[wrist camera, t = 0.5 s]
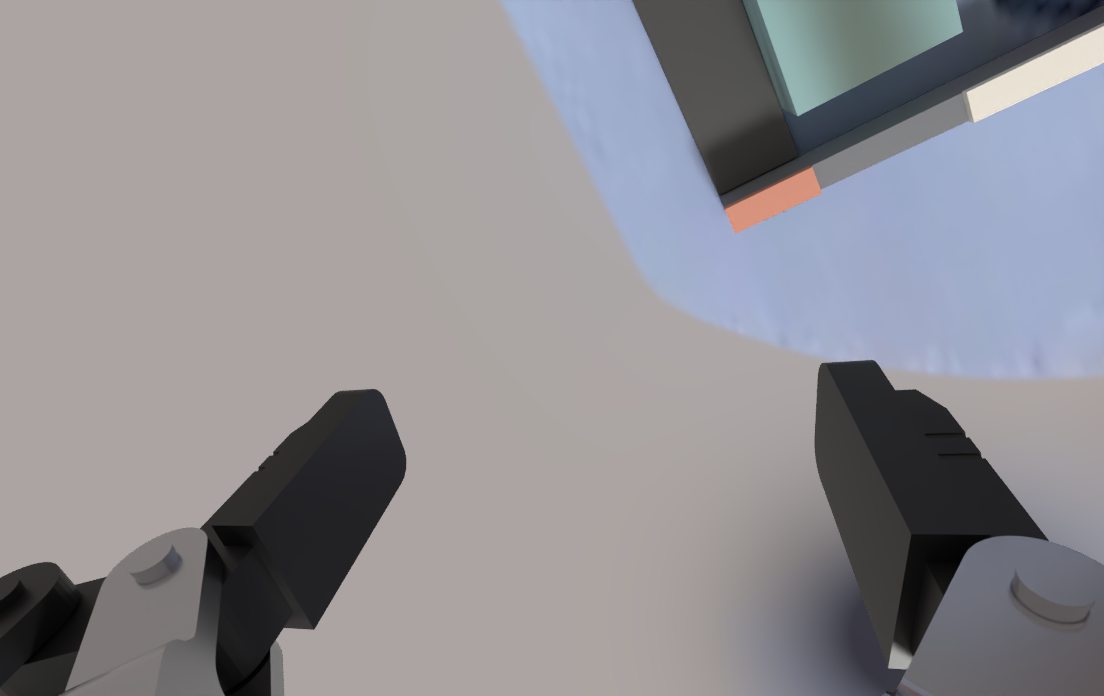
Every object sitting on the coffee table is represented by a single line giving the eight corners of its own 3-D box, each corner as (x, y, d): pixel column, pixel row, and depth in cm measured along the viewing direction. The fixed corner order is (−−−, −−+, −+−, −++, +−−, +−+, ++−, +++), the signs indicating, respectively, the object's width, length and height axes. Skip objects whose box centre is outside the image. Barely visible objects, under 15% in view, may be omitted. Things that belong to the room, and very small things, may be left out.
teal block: (879, -119, 21) (922, -150, 18) (918, 33, 24) (963, 31, 20) (731, -25, 24) (744, -36, 20) (779, 106, 26) (797, 116, 22)
